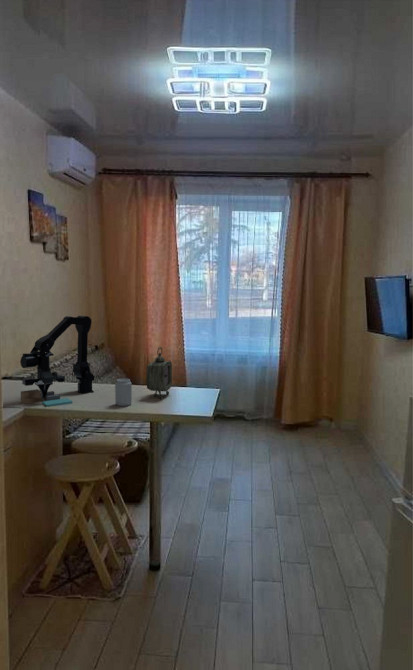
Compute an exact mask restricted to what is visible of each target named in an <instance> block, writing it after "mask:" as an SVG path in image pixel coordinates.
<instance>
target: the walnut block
mask: <svg viewBox="0 0 413 670" xmlns="http://www.w3.org/2000/svg"><path fill="white" fill-rule="evenodd" d="M39 402H42V398H41V391H40V389H39V388H38V389H31V390H30V389H29V390H22V391H20V403H22V404H23V405H24V404H31V403H39Z"/></svg>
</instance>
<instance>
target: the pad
mask: <svg viewBox="0 0 413 670" xmlns="http://www.w3.org/2000/svg"><path fill="white" fill-rule="evenodd" d="M41 404H42V405H43V406H45V407H46V408H49V407H56V406H63V405H70V404H73V401H72V400H71V399H69V398H68V397H67V398H60V399H58V400H50V401H46V400H44V401H41Z"/></svg>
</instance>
